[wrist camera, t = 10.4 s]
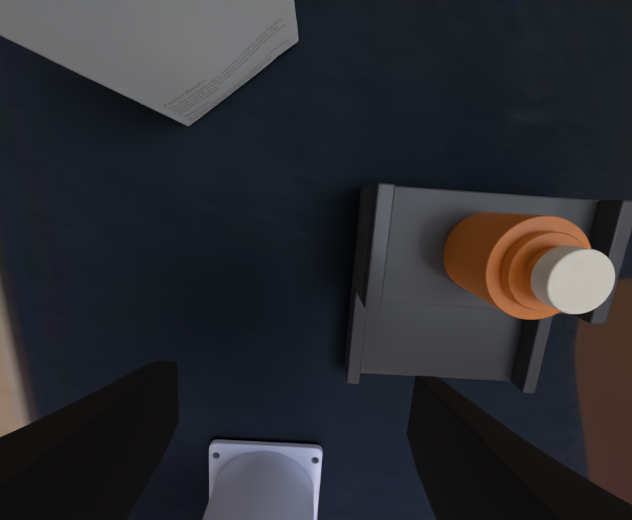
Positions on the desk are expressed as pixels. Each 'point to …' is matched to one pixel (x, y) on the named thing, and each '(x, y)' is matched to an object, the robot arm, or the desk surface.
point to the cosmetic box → (157, 45)
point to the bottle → (528, 264)
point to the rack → (452, 286)
